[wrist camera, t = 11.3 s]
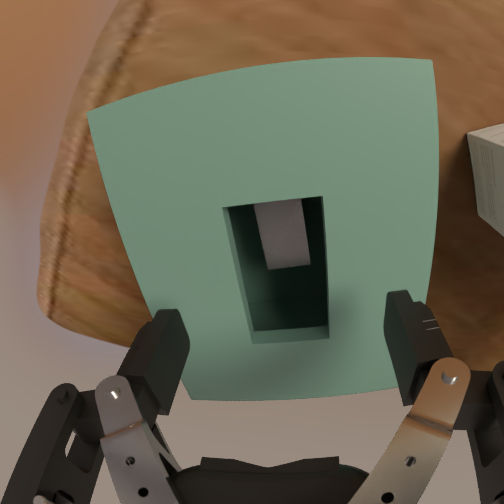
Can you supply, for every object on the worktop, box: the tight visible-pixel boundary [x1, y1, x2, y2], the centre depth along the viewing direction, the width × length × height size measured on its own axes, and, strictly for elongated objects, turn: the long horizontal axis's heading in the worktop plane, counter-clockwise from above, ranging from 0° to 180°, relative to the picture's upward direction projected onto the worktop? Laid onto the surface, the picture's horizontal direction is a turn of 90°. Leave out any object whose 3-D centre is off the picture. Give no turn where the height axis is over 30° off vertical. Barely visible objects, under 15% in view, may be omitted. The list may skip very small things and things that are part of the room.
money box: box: [86, 57, 439, 401], centre depth 18 cm, size 14×18×10 cm
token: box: [253, 198, 311, 270], centre depth 19 cm, size 2×5×5 cm, turn 12°
